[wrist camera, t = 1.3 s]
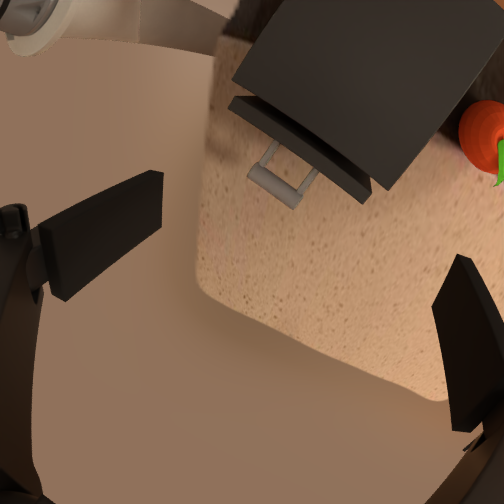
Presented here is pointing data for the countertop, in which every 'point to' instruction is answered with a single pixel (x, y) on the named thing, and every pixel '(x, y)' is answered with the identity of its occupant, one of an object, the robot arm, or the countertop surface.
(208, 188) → the countertop surface
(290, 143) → the open grey drawer
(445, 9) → the dark drawer cabinet
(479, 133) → the clementine
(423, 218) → the countertop surface
